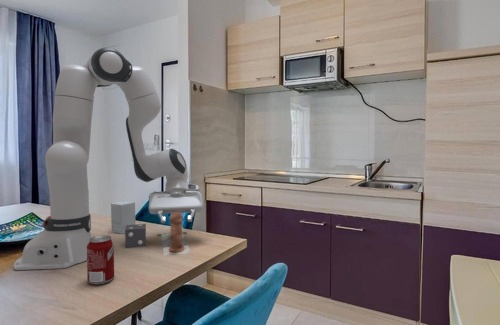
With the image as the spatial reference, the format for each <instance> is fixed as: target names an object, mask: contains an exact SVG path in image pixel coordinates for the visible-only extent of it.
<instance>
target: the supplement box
mask: <svg viewBox="0 0 500 325" xmlns="http://www.w3.org/2000/svg"><path fill="white" fill-rule="evenodd" d="M110 214H111V216H110V217H111V219H110V220H111V221H110V222H111V223H110V224H111V232H112V233H116V234H117V233H118V234H120V235H121V234H122V235H123V234H125V229H126V225H136V202H134V201H128V200H123V201H117V202H111V203H110Z"/></svg>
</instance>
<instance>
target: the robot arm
mask: <svg viewBox="0 0 500 325" xmlns="http://www.w3.org/2000/svg"><path fill="white" fill-rule="evenodd" d="M112 85H116V86H117V87H119V89H121V91H122V92H123V94H124V97H125V100H126V102H127V105H128V116H127V117H126V118H125V127H126V133H127V137H128V142H129V146H130V151H131V155H132V162H133V169H134V174H135V176H136V178H138V179H139V180H140V181H141V182H142V181H143V182H146V183H149V182H151V181H154V180H157V179H160V178H162V177H165V179H166V181H165V188H164V191H161V190H160V191H153V192H151V193H150V194H149V195H148V200H149V201H148V212H149V214H151V215H158V217H159V219H160V224H166V219H167V218H166V216H163V215H165V214H172V213H173V212H180V213H181V214H184V213H190V215H187V222H188V223H191V222H193V217H194V216H195V213H202V212H203V211H204V209H205V204H204V203H205V202H204V198H203V195H202V192H200V186H199V185H197V184H193V183H189V181H188V178H189V173H188V172H189V170H188V165H187V162H186V160H185V157H184V156H183V155H182V153H181V152H180V151H178V150H177V149H175V148H168V149H165V150H162V151H161V150H160V151H159V152H155V153H151V154H146V150H145V145H144V141H143V137H142V136H143V135H142V134H143V133H142V132H143V130H144V129H145V128H146V127H147V126H148V125H149V124H150V123H151V122H152V121H154V120H155V119H156V118H157V117H158V115H159V113H160V112H161V108H162V107H161V106H162V105H161V100H160V98H159V95H158V93H157V90H156V87H155V85H154V83H153V81H152V79H151V77H150V75H149V73H148V72H147V70H146V69H145V68H144V67H141V66H138V65H132V63H131V62H130V61H129V60H127V59H126V57H125V56H124V55H123V53H121V52H120V51H118V50H117V49H115V48H112V47H101V48H99V49H97V50H96V51H94V53H93V54H92V55H90V57H89V58H88V60H87V62H86V64H84V65H79V64H71V63H70V64H67V65H64V66H62V68H61V70H60V72H59V75H58V78H57V82H56V85H55V93H54V103H53V113H52V145H51V146H49V148H47V151H46V153H45V170H46V177H47V183H48V184H47V186H48V191H49V206H50V208H49V209H50V212H49V213H50V215H49V216H47V217H46V218H45V220H43V222H42V227H43V230H42V231H41V232H39V233H38V234H37V235H35V236H34V237H32V238H31V239H30V240H29V241H28V242H27V243H26V244H25V246H24V247H23V250H22V256H20V257H19V258H18V259H16V261H14V263H13V266H12V267H13V270H14V271H26V270H27V271H29V270H30V271H31V270H52V269H53V270H54V269H55V270H56V269H66V268H70V267H71V266H74V265H77V264H81V263H84V262H87V245H88V243H89V242H90V241H89V239H90V238H92V235H91V231H92V230H91V229H92V217H91V214H90V201H89V200H90V199H89V198H90V196H89V184H88V163H89V160H90V146H91V133H92V120H93V112H94V109H93V108H94V100H95V93H96V92H95V91H96V89H97V88H103V87H110V86H112Z"/></svg>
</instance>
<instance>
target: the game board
mask: <svg viewBox="0 0 500 325" xmlns="http://www.w3.org/2000/svg"><path fill="white" fill-rule="evenodd" d="M186 234H187V232H186V231H182V245H183V246H184V251H182V252H178V253H172V252H169V247H170V246H171V232H170V233H160V234H159V233H157V235H156V236H157V237H160V238H161V243H162V250H163V257H166V256H167V257H168V256H175V255H186V254H192V253H191V250H190V248H189V245H188V242H187V239H186V237H185V235H186Z"/></svg>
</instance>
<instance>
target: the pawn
mask: <svg viewBox="0 0 500 325" xmlns="http://www.w3.org/2000/svg"><path fill="white" fill-rule="evenodd" d="M183 219H184V216H183V213H180V212H173V213H170V216H169V221H170V233H171V246H170V247H169V252H172V253H178V252H182V251H184V246H183V245H182V232H183Z"/></svg>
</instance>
